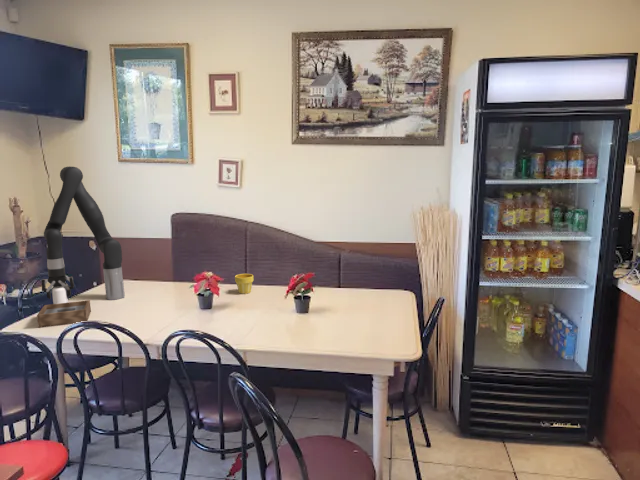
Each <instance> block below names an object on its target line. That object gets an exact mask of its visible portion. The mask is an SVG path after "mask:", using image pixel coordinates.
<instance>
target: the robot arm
mask: <svg viewBox="0 0 640 480" xmlns="http://www.w3.org/2000/svg"><path fill="white" fill-rule="evenodd" d="M59 177H60V180H61V181H62V187H61V189H60V190H61V191H60V193H59V195H58V197H57V198H56V201H55V203H54V205H53V207H52V210H51V213H50V217H49V220H48V222H47V224H46V226H45V229H44V231H43V237H44V240H46V245H47V248H46V261H47V262H46V267H47V275H48V277H47V278H42V280H41V292H46V297H47V299H48V300H51V298H52V296H51V295H52V291H51V290H52V289H53V288H52V287H57V286H59V287H60V286H63V287H65V288H66V290H67V298H70V297H71V294H72V292H71V291H72V290H73V289H74V288H75V282H74V277H73V276H69V277H67V276H66V269H65V268H66V266H65V260H64V254H63V235H62V234H63V233H62V232H61V230H62V227H63V225H65V224H66V221H67V218H68V215H69V212H70V208H71V205H72V202H73V200H74V203H75V205H76V207H77V208H78V211H79V213H80V215H81V217H82V218H83V220H84V221H85V223H86V225H87V227H88V229H89V230H90V231H91V233H92V235H93V236H94V239H95V241H96V243H97V246H98V248H99V251H100V252H101V253H102V254H103V259H104V260H103V263H102V270H103V271H102V272H103V279H104V290H105V297H106V300H111V301H112V300H120V299H124V298H125V296H126V295H125V284H124V283H125V282H124V279H123V278H124V276H123V268H122V267H123V266H122V263H123V253H122V252H123V251H122V250H123V249H122V244H121V243H120V242H119V241H118V240H117V239H114V238H113V237H112V236H111V234H110V232H109V230H108V229H107V227H106V221H105V218H104V215H103V212H102V210H101V209H100V207H99V205H98V204H97V202H96V200H95V199H94V198H93V196H91V193H89V192H88V190H86V187H85V185H84V183H83V182H82V181H83V178H84V175H83V172H82V170H81V169H80V168H78V167H76V166H64V167H63V168H62V169H61V170H60V172H59ZM67 281H68V282H69V284H70V285H69V284H68V283H67ZM47 283H48V284H50V285H49V286H48V287H47V288H46V284H47Z"/></svg>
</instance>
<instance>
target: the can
mask: <svg viewBox="0 0 640 480" xmlns="http://www.w3.org/2000/svg"><path fill="white" fill-rule="evenodd" d="M51 295H52V296H51V297H52V302H53V303H52V304H60V303H69V300H68V299H69V297H68V296H67V289H66V288H65V287H63V286H60V287H59V286H57V287H54V286H52V288H51Z"/></svg>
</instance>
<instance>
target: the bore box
mask: <svg viewBox="0 0 640 480" xmlns="http://www.w3.org/2000/svg"><path fill="white" fill-rule="evenodd" d="M91 312H92V309H91V300H89V299H87V300H80V301H79V300H78V301H70V302H69V301H68V303H60V304H54V303H52V304H45V305H43V307H42V308H41V309H40V310H39V312H38V313H37V314H36V319H37V325H38V329H41V328H50V327H57V326H66V325H73V323H74V324H77V323H76V322H81V321H87V322H88V321H89V318H90V315H91Z"/></svg>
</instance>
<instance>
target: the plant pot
mask: <svg viewBox="0 0 640 480" xmlns="http://www.w3.org/2000/svg"><path fill="white" fill-rule="evenodd" d="M234 281H235V283H236V286H237V291H238V293H239V294H241V295H245V294H250V293H251V292H252V285H253V282H254V275H253V274H252V273H239V274H236V275H235V276H234Z"/></svg>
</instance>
